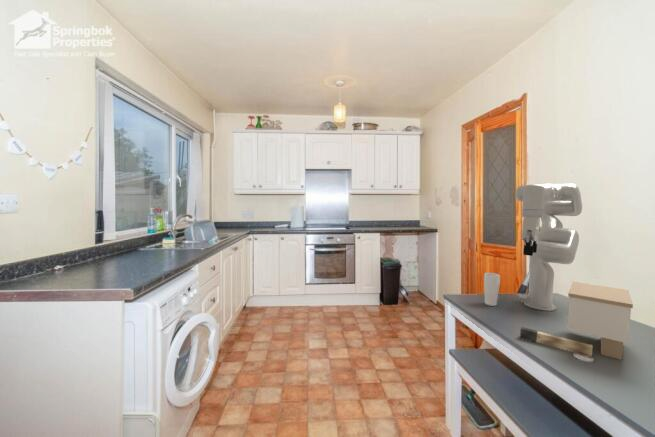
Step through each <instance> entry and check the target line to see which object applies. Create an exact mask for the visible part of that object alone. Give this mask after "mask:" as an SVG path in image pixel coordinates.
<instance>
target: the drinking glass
mask: <svg viewBox="0 0 655 437" xmlns="http://www.w3.org/2000/svg"><path fill="white" fill-rule="evenodd" d="M483 275H484V276H483V287H484V288H483V289H484V290H483V293H484V294H483V295H484V305H486V306H490V307H491V306H492V307H496V306H497V304H498V296H499V291H500V290H499V289H500V282H501V275H500V274H499V273H495V272H485V273H484V274H483Z"/></svg>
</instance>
